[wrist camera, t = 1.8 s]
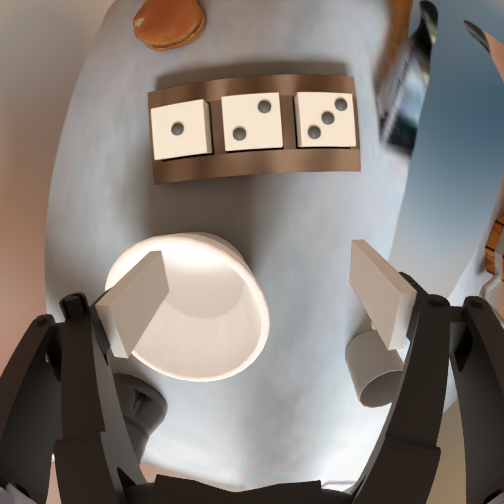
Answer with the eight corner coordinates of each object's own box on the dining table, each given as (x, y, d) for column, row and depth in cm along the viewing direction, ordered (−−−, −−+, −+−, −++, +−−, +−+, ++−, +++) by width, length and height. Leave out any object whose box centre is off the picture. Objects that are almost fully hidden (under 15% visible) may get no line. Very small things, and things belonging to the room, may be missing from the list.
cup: (358, 325, 40) (377, 367, 31) (397, 332, 41) (420, 370, 31) (337, 364, 43) (349, 407, 34) (375, 368, 44) (391, 408, 34)
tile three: (297, 146, 30) (302, 145, 27) (294, 98, 28) (297, 91, 25) (346, 146, 30) (356, 146, 27) (343, 99, 28) (352, 93, 25)
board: (161, 182, 34) (154, 184, 32) (154, 95, 30) (147, 92, 28) (354, 170, 33) (360, 171, 30) (347, 81, 29) (353, 77, 26)
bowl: (129, 305, 41) (99, 345, 31) (156, 191, 35) (118, 207, 25) (239, 349, 43) (233, 399, 33) (291, 244, 36) (301, 279, 26)
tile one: (165, 159, 31) (154, 159, 28) (161, 112, 29) (150, 108, 26) (212, 152, 31) (206, 152, 28) (209, 104, 29) (202, 98, 26)
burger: (219, 27, 27) (213, 12, 22) (160, 65, 29) (147, 55, 24) (185, -10, 24) (177, -25, 20) (131, 25, 26) (117, 14, 22)
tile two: (229, 150, 31) (225, 150, 27) (225, 102, 29) (221, 96, 25) (280, 147, 31) (283, 146, 27) (277, 98, 29) (278, 92, 25)
